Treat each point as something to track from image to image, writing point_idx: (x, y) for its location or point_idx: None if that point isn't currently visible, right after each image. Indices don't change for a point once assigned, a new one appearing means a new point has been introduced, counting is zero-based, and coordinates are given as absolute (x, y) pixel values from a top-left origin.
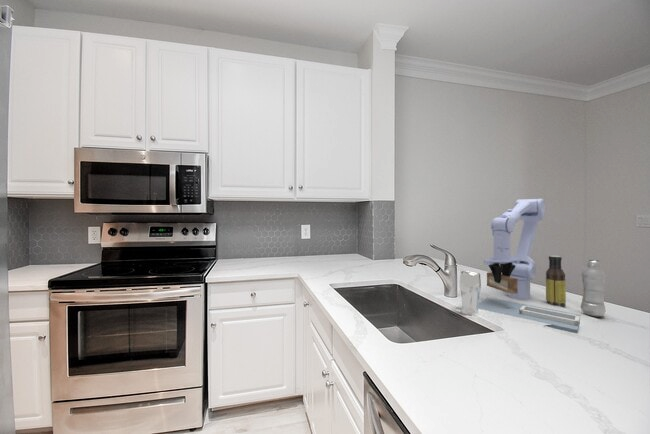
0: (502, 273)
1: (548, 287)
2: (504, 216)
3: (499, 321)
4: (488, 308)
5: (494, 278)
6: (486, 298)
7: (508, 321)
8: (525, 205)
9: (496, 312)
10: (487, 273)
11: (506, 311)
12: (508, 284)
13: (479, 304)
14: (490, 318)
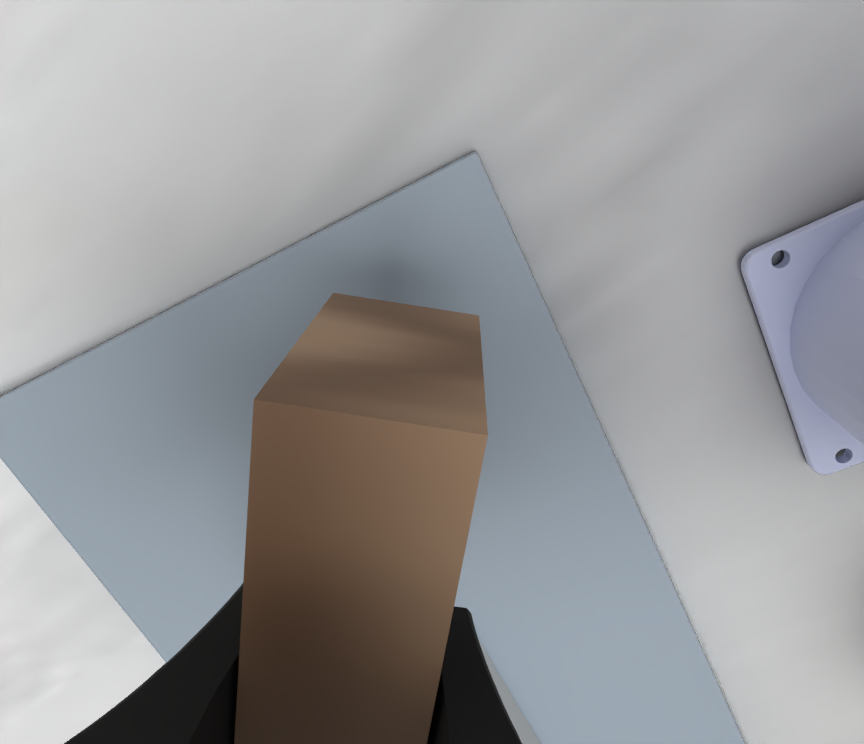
0: (442, 736)
1: None
2: None
3: (38, 669)
4: (113, 496)
5: (215, 627)
6: (401, 207)
7: (115, 691)
8: None
9: (110, 593)
10: (259, 412)
11: None
12: None
13: (108, 365)
14: (8, 607)
